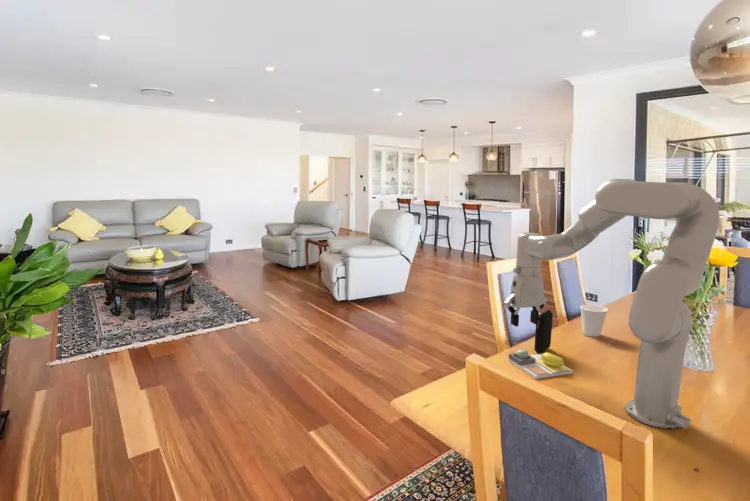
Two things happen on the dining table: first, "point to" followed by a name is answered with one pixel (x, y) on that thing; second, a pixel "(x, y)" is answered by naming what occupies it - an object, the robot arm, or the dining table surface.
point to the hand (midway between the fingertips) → (524, 323)
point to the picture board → (538, 366)
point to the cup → (593, 319)
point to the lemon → (552, 359)
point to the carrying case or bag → (543, 332)
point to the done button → (522, 354)
